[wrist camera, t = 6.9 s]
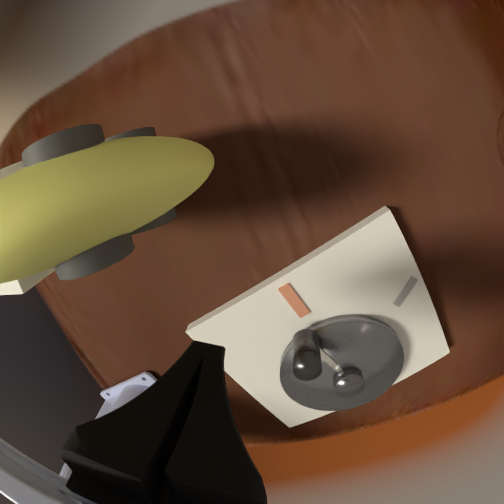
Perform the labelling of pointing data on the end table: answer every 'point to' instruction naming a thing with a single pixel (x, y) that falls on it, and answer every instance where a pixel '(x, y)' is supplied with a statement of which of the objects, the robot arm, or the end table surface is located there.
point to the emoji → (90, 200)
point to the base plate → (325, 310)
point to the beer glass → (501, 137)
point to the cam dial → (341, 362)
